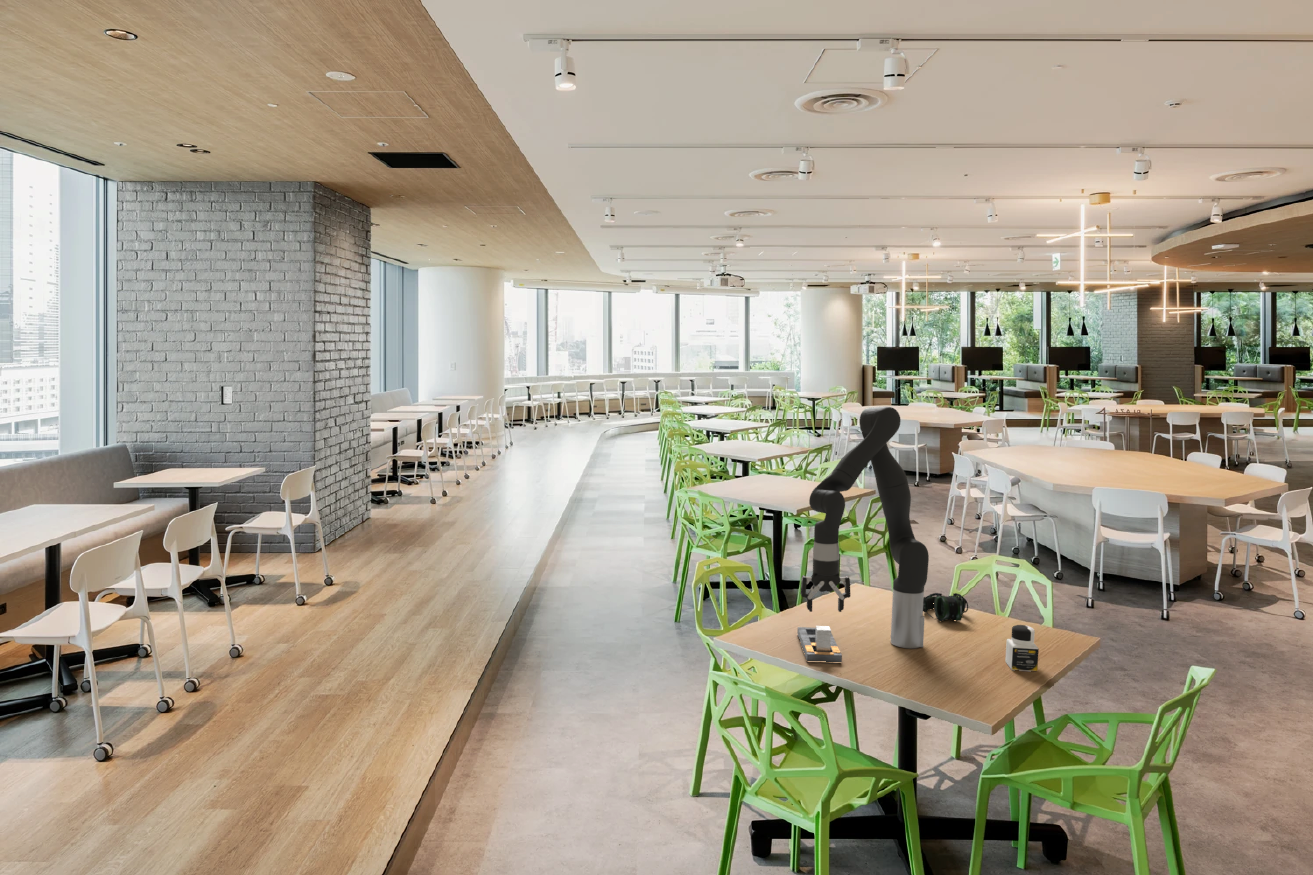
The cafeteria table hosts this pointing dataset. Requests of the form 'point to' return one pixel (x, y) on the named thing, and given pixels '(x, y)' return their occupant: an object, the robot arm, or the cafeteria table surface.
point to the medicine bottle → (1022, 649)
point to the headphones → (945, 606)
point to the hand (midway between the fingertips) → (825, 611)
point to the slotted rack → (808, 646)
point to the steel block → (822, 639)
